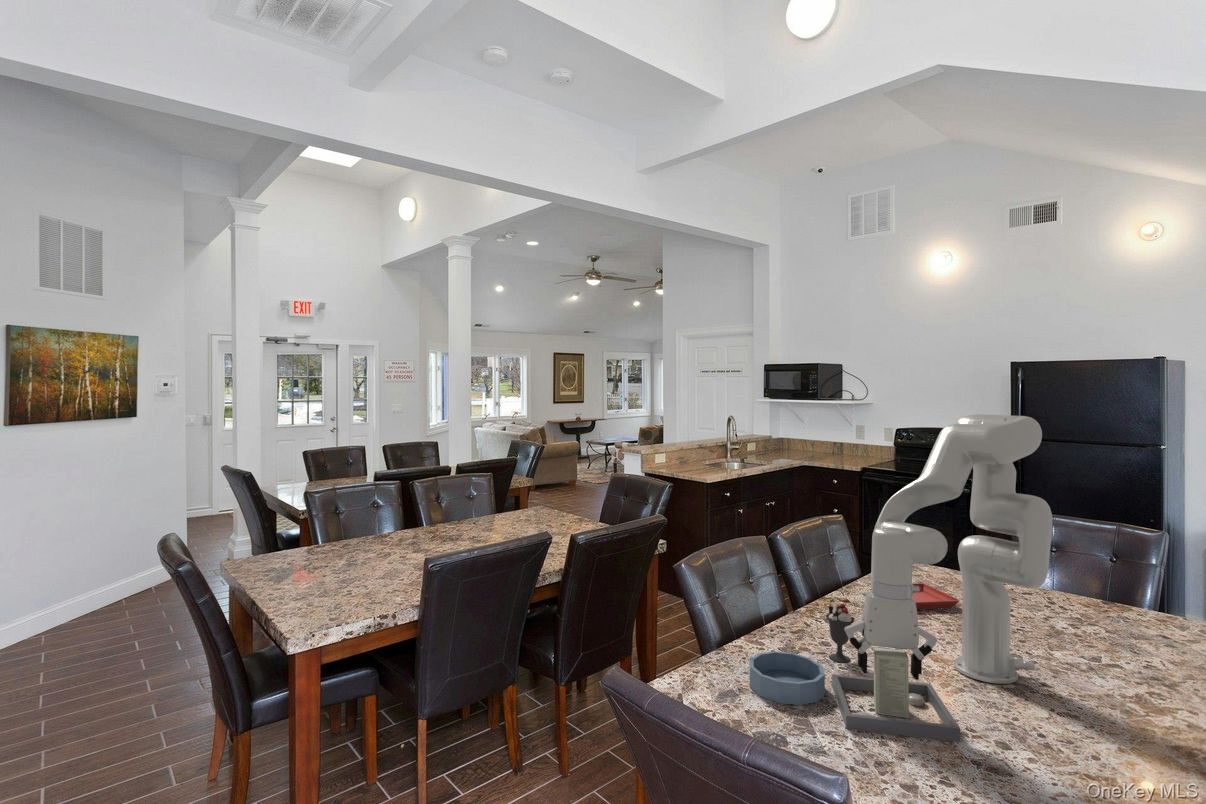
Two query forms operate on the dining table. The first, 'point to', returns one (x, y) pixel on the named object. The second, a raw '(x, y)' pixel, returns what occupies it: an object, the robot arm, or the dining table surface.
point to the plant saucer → (932, 598)
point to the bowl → (787, 678)
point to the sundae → (839, 630)
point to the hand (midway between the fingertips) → (888, 673)
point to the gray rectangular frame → (896, 726)
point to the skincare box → (891, 682)
